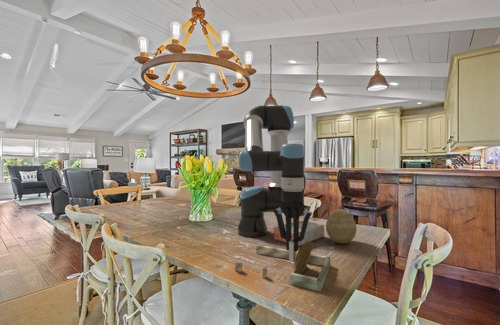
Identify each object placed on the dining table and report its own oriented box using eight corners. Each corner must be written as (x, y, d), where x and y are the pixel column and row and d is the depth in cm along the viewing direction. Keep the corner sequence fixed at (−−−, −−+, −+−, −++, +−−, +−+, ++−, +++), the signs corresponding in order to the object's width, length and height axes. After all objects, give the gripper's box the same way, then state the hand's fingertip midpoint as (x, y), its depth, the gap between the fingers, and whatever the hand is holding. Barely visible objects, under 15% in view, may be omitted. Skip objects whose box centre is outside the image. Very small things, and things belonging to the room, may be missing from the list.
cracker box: (301, 231, 124) (273, 239, 110) (301, 219, 124) (273, 226, 110) (324, 237, 113) (297, 247, 100) (324, 224, 113) (297, 233, 100)
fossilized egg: (356, 249, 97) (356, 213, 97) (324, 245, 102) (324, 210, 102) (356, 240, 109) (356, 207, 109) (327, 236, 114) (327, 205, 114)
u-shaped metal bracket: (235, 271, 79) (235, 262, 79) (257, 252, 95) (257, 244, 95) (321, 291, 67) (321, 281, 67) (330, 265, 83) (330, 257, 83)
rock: (305, 277, 70) (324, 264, 77) (291, 249, 73) (311, 239, 80) (284, 283, 78) (303, 271, 84) (272, 257, 81) (292, 248, 87)
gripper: (270, 190, 79) (270, 260, 79) (309, 192, 73) (309, 268, 73) (277, 187, 85) (277, 252, 86) (314, 189, 79) (314, 259, 80)
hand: (292, 260), depth 79 cm, fingers closed
